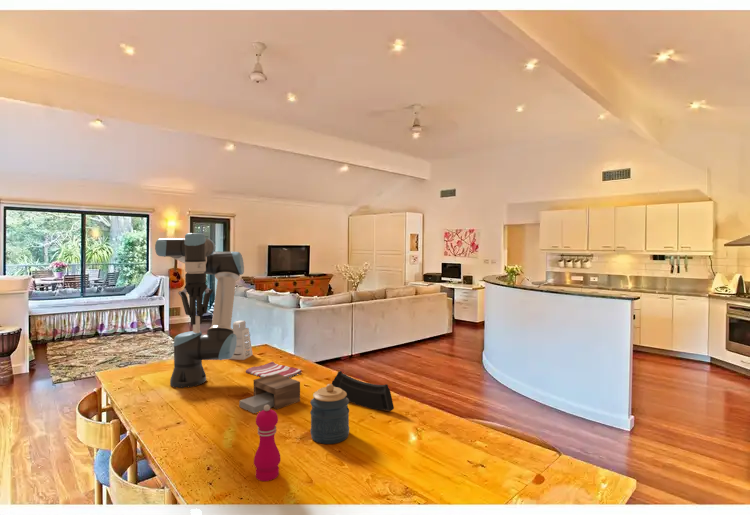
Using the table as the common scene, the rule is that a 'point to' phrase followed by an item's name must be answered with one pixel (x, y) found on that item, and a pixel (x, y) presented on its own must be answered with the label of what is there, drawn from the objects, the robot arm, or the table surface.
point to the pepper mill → (267, 446)
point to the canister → (329, 415)
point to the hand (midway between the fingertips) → (196, 332)
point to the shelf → (279, 389)
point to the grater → (242, 341)
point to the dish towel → (273, 370)
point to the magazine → (364, 392)
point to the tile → (257, 402)
